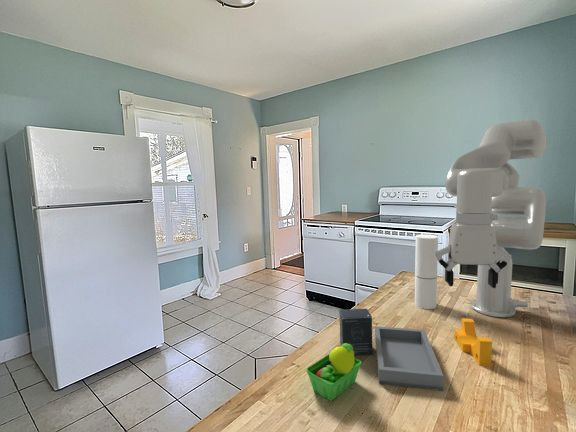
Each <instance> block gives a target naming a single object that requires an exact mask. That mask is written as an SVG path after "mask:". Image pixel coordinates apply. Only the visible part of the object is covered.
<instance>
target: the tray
mask: <svg viewBox="0 0 576 432" xmlns="http://www.w3.org/2000/svg"><path fill="white" fill-rule="evenodd" d="M374 343H375V344H374V346H375V354H376V355H375V356H376V367H377V375H378V376H377V378H378V385H379V384H380V385H387V386H397V387H406V388H414V389H424V390H433V391H442V392H443V391H444V374H443V372H442V369H441V366H440V364H439V361H438V359H437V357H436V355H435V352H434V350H433V348H432V345H431V342H430V340H429V338H428V335H427V333H426V331H425V329H421V328H420V329H419V328H418V329H417V328H405V327H404V328H403V327H390V326H378V325H377V326H376V325H375V326H374Z"/></svg>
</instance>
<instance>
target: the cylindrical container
mask: <svg viewBox="0 0 576 432" xmlns="http://www.w3.org/2000/svg"><path fill="white" fill-rule="evenodd" d="M414 251H415V255H414V256H415V257H414V258H415V261H414V262H415V263H414V306H415V307H417V308H420V309H423V308H424V310H433V309H436V308H437V300H438V299H437V298H438V297H437V296H438V294H437V293H438V263H439V262H438V260H437V258H436V256H435V255H434V253H435V252H436V251H439V236H438V235H435V234H427V233H426V234H423V233H422V234H416V235H415V250H414Z"/></svg>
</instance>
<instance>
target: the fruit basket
mask: <svg viewBox="0 0 576 432" xmlns="http://www.w3.org/2000/svg"><path fill="white" fill-rule="evenodd" d="M361 365H362V361H361V360H360V359H357V358H356V357H355V355H354V351H353V347H352V346H351V345H350V344H347V343H344V344H342V346H341V345H340V346H337V347H334V348H333V349H332V350H331V351H330V353H328V354H326V356H324V357H321V358H320V359H319V360H318V361H316V362H315V363H313V364H311V365H309V366H308V367H307V368H306V369H305V370H306V373H307V375H308V377H309V381H310V384H311V387H312V389H313V391H314V392H316V393H318V394H319V395H320V396H322V397H323V398H325V399H327V400H328V401H329V402H332V401H333V400H335V399H336V397H338V396H340V395H341V394H342V393H343V392H344V391H346V390H347V389H348V388H349V387H350V386H352V385H354V384H355V383H356V380H357V376H358V374H359V369H360V368H361Z"/></svg>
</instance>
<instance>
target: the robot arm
mask: <svg viewBox="0 0 576 432" xmlns="http://www.w3.org/2000/svg"><path fill="white" fill-rule="evenodd" d="M546 149H547V138H546V134H545V130H544V126H543V125H542V124H541V123H540V122H539V121H538V120H534V119H526V120H525V119H524V120H516V121H508V122H501V123H496V124H493V125H491V126H490V127H489V128H487V129H486V131H485V133H484V135H483V136H482V139H481V141H480V143H479V145H478V147H475V148H474V149H472V150H470V151H468V152H467V153H464V154H462V155H461V156H459V157H457V158H456V159H455V160H454V161H453V163H452V164H451V165H450V168H449V170H448V171H447V175H446V177H445V183H444V186H445V191H446V193H448V194H449V195H450V196H453V197H456V207H455V208H456V210H455V211H456V212H455V214H456V215H455V223H451V228H450V232H449V237H448V244H447V245H448V246H446V247H444V248H441V249H438V251H436V252H435V253H434V255H435V256H436V258H437V260H438V263H439V264H440V265H441V266H442V267H443V269H444V270H445V271H444V281H445V282H446V283H447V284H448V286H450V287H453V286H454V273H455V272H454V271H453V269H454V268H455V267H456V266H457V265H468V266H469V265H470V266H471V265H474V266H477V277H476V280H477V281H476V299H474V300H472V301H471V302H470V307H471V308H472V309H473V310H474V311H476V312H478V313H480V314H482V315H485V316H490V317H495V318H510V317H514V316H515V315H516V313H517V311H516V310H517V309H516V308H528V306H529V305H528V302H527V301H524V300H522V301H520V299H519V298H511V295H512V278H513V277H512V276H513V259H512V257H513V255H512V254H510V253H509V252H508V251H507V250H506V248H509V249H510V248H512V249H520V250H536V249H538V248H540V247H541V246H542V243H543V239H544V232H545V231H544V230H545V219H546V208H547V207H546V206H547V199H546V194H545V191H544V190H543V189H542V188H540V187H535V186H519V182H520V181H519V180H520V173H519V172H518V170H517V169H515V167H513V166H512V165H511V164H510V163H508V162H509V160H525V159H526V160H528V159H530V160H531V159H536V158H537V159H538V158H540V157H542V155H544V153H545V151H546ZM501 216H502V217H501ZM503 216H504V217H503ZM507 216H510V217H507ZM516 217H524V218H516ZM445 255H447V258H448V260H447V261H445V260H444V258H443V256H445Z"/></svg>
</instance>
